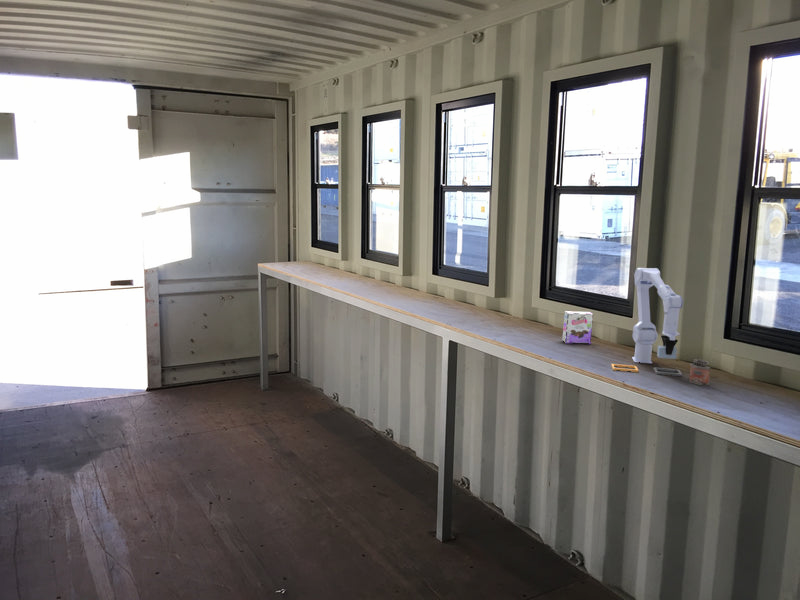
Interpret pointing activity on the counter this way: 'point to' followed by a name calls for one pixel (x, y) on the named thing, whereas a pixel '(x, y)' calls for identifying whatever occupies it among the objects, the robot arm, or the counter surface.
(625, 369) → the orange picture frame
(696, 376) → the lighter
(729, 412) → the counter surface
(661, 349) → the plug
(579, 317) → the candy box
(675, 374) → the open gray picture frame
